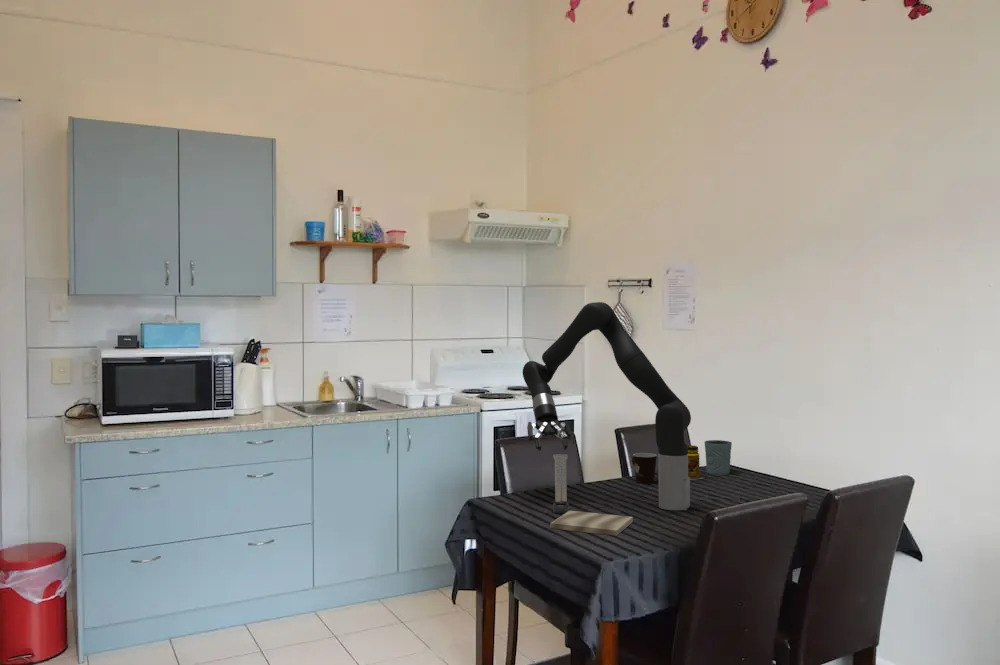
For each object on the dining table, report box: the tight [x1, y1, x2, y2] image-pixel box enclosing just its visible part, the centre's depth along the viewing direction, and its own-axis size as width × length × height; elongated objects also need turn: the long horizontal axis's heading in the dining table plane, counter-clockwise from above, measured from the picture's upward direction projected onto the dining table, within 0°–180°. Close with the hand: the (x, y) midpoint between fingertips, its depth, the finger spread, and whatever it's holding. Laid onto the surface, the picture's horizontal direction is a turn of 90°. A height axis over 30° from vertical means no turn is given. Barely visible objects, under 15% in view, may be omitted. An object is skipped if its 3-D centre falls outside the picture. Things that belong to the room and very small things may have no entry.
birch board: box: [549, 510, 634, 536], centre depth 235 cm, size 20×16×2 cm
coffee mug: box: [631, 452, 658, 485], centre depth 294 cm, size 12×9×10 cm
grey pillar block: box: [552, 453, 570, 515], centre depth 250 cm, size 5×5×18 cm
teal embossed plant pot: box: [704, 439, 732, 476], centre depth 308 cm, size 10×10×12 cm
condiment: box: [687, 444, 704, 481], centre depth 300 cm, size 7×8×12 cm
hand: (552, 448), depth 260 cm, fingers open, 8 cm apart
